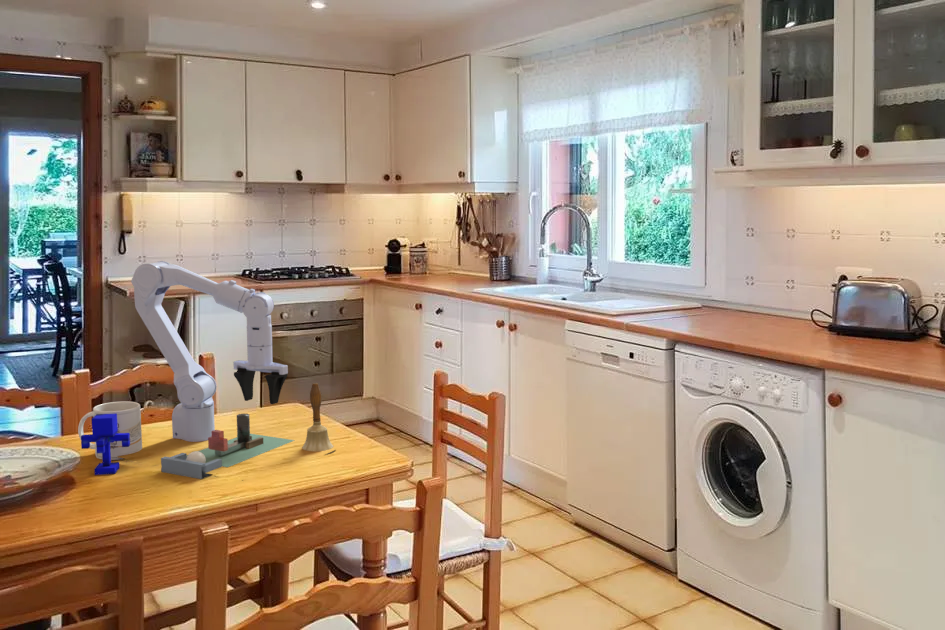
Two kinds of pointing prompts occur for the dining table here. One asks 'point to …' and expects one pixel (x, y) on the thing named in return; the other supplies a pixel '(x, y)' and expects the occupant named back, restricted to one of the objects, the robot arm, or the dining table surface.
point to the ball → (196, 457)
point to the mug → (119, 426)
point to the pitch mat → (245, 450)
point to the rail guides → (253, 442)
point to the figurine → (105, 441)
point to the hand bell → (317, 426)
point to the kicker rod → (221, 443)
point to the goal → (188, 466)
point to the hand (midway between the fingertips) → (261, 401)
